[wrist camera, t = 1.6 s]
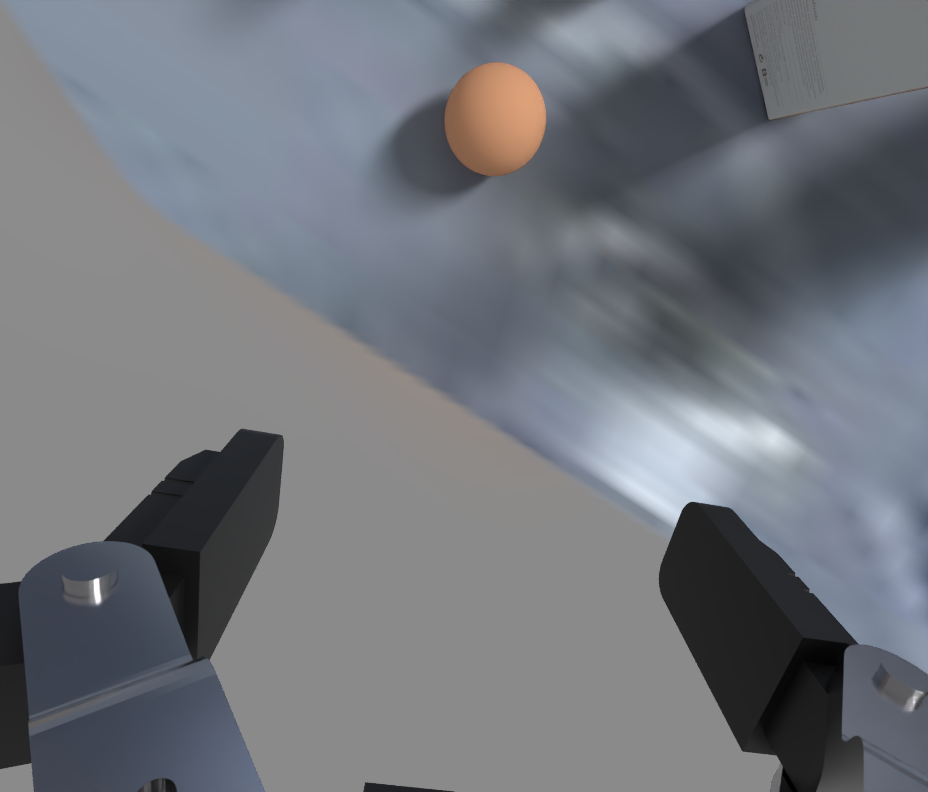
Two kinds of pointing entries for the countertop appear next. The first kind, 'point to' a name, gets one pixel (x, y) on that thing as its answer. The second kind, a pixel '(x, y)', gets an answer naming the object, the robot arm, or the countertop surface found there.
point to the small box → (837, 51)
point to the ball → (495, 119)
